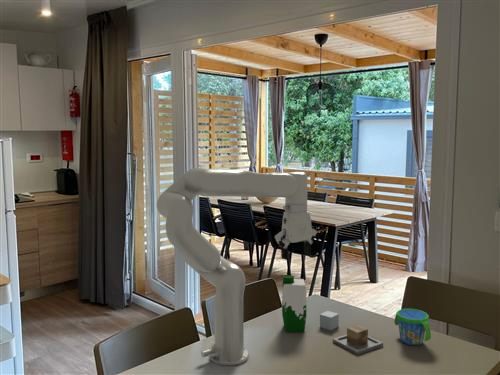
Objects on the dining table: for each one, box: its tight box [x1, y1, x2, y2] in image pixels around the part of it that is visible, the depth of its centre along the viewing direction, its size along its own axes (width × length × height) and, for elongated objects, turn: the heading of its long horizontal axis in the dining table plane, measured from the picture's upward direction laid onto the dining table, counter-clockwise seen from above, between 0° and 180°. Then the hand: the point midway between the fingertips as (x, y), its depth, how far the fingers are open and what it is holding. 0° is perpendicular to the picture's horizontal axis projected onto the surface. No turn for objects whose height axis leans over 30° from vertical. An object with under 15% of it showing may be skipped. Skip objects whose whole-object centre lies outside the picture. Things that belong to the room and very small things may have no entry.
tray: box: [332, 334, 384, 356], centre depth 167 cm, size 12×12×1 cm
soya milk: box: [281, 274, 307, 333], centre depth 180 cm, size 9×9×20 cm
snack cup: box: [393, 308, 432, 346], centre depth 168 cm, size 16×10×10 cm
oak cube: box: [346, 324, 369, 347], centre depth 167 cm, size 5×5×5 cm
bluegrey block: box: [319, 310, 340, 331], centre depth 183 cm, size 5×5×5 cm
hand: (296, 256), depth 167 cm, fingers open, 9 cm apart
